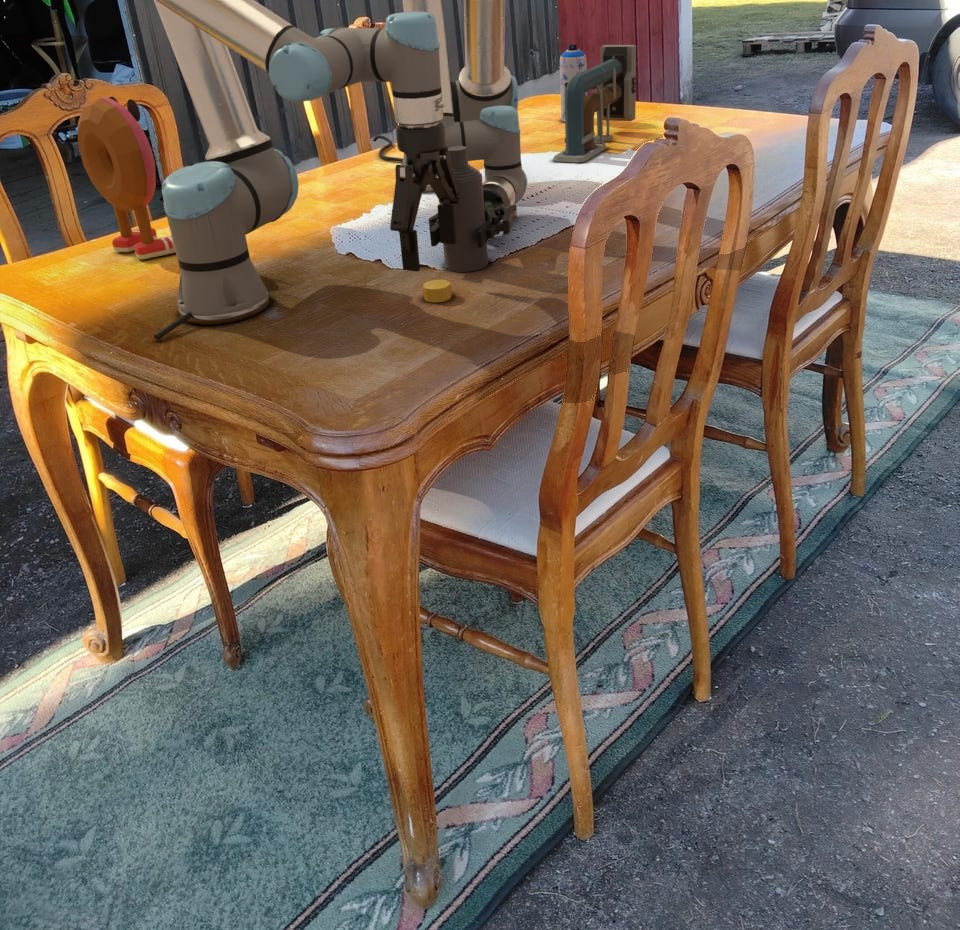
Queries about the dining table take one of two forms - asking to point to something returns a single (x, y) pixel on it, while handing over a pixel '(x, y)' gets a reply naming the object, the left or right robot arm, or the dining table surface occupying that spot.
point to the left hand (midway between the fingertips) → (430, 256)
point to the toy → (122, 171)
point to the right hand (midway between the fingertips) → (455, 239)
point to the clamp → (599, 102)
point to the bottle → (466, 216)
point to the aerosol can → (570, 70)
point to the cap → (437, 291)
